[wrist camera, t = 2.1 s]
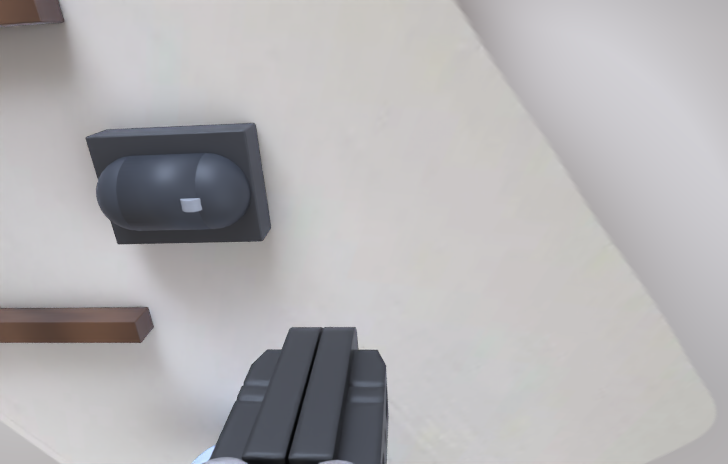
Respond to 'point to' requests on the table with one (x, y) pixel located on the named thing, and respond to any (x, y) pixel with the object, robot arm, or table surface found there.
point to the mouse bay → (64, 325)
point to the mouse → (181, 183)
